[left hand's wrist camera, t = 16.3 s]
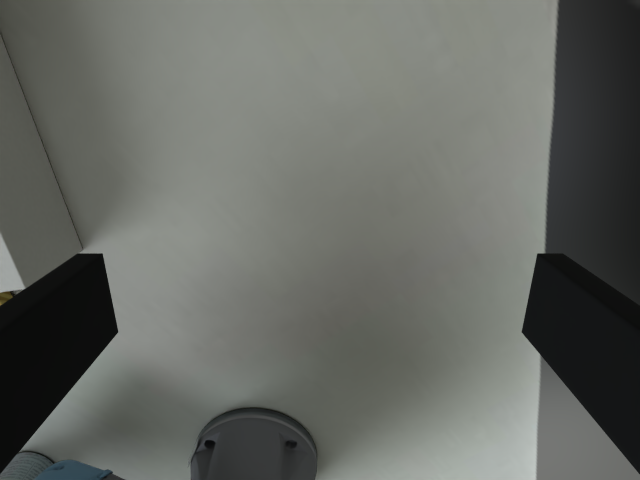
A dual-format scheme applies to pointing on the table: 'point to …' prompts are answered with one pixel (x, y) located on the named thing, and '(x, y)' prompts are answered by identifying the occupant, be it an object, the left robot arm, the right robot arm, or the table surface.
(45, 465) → the spray paint can
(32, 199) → the bar
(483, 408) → the table surface
